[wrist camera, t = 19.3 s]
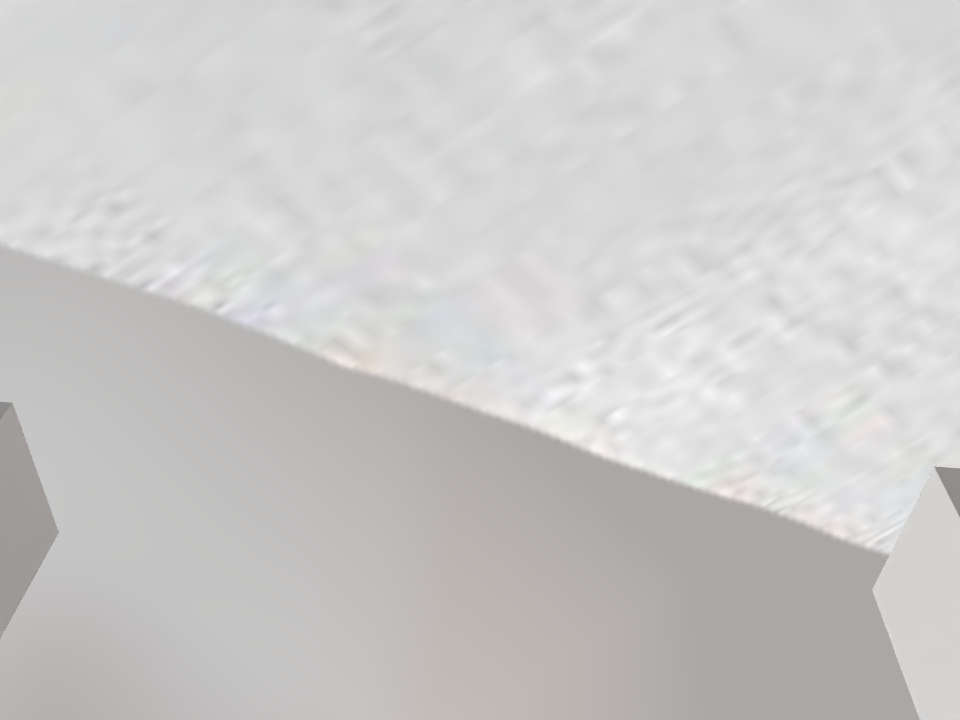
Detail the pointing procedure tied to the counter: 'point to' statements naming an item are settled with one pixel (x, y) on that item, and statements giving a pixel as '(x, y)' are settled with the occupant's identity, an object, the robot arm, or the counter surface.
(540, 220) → the counter surface
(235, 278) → the counter surface
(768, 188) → the counter surface
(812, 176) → the counter surface
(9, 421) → the robot arm
